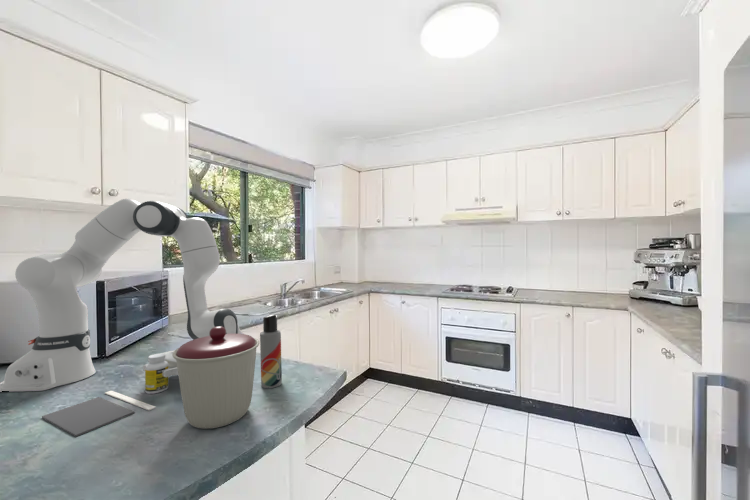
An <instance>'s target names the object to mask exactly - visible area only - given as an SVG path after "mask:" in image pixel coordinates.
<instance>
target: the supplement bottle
mask: <svg viewBox="0 0 750 500" xmlns="http://www.w3.org/2000/svg"><path fill="white" fill-rule="evenodd" d="M147 359H148V360H147V362H148V363H146V364H147V365H146V364H145V365H146V367H145V371H144V373H145V374H144V379H145V381H144V385H145V387H144V389H145V390H144V392H145V393H146V394H148V395H151V394H152V395H153V394H154V395H155V394H160V393H162V392H164V391H166V390H167V389H168V388H169V377H163V376H162V371H163V370H166V369H168V362H167V361H164V360H165V354H164V352H160V353H154V354H150V355H148V357H147Z"/></svg>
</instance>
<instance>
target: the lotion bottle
mask: <svg viewBox="0 0 750 500" xmlns="http://www.w3.org/2000/svg"><path fill="white" fill-rule="evenodd" d="M262 323H263V324H262V327H263V329H262V330H263V331H261V332H260V334H259V350H260V353H259V355H260V356H259V357H260V384H261V387H262V388H263V389H273V388H277V387H279V386H281V384H282V382H283V381H282V379H283V377H282V376H283V375H282V373H283V372H282V371H283V370H282V337H281V336H282V332H281V330H279V329H278V316H277V315H276V314H271V315H267V316H264V317H263V318H262Z"/></svg>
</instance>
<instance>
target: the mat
mask: <svg viewBox="0 0 750 500" xmlns="http://www.w3.org/2000/svg"><path fill="white" fill-rule="evenodd" d="M135 413H136V412H135V410H133V409H130V408H128V407H125V406H122V405H120V404H117V403H114V402H112V401H109V400H108V399H105V398H102V397H99V396H98V397H95V398H92V399H89V400H85V401H83V402H80V403H77V404H74V405H72V406H67V407H65V408H62V409H59V410H56V411H53V412H49V413H46V414H44V415H42V416H41V419H43V420H45V421H47V422H49V423H51V424H52V425H53V426H56V428H57V427H58V428H59V429H61V430H63V431H65V432H66V433H68V434H70V435H72V436H74V437H75V438H76V437H80V436H82V435H84V434H87V433H89V432H91V431H95V430H96V429H98V428H101V427H102V428H103V426H106V425H107V426H108V425H110V424H111V423H114V422H116V421H119V420H121V419H124V418H126V417H128V416H131V415H135Z"/></svg>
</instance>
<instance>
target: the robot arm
mask: <svg viewBox="0 0 750 500" xmlns="http://www.w3.org/2000/svg"><path fill="white" fill-rule="evenodd" d="M139 232H143V233H145V234H148V235H151V236H157V237H172V238H173V239H175V240H176V242H177V244H178V247H179V250H180V255H181V260H182V265H183V275H182V278H183V279H182V281H183V283H182V284H183V290H184V296H185V302H186V308H187V323H186V331H187V333H188V336H189V338H191V339H192V340H194V339H198V338H201V337H206V336H210V335H209V332H210V330H211V329H212V328H213V327H217V326H222V327H224V328H225V329H226V334H245V333H243V332H242V330H241V329H240V327H239V324H238V316H237V315H236V314H235V311H233V310H231V309H229V308H220V309H216V310H215V309H214V310H211V311H210V310H209V309H208V304H207V297H206V292H205V291H206V289H205V288H206V287H205V286H206V283H207V281H208V280H209V278H210V277H211V276H212V275H214V273H215V272H216V271H217V270H218V268H219V266H220V262H221V260H220V259H221V258H220V253H219V249H218V244H217V241H216V238H215V236H214V233H213V231H212V229H211V227H210V225H209V223H208V222H207V221H206V219H203V218H201V217H189V216H188V215H187V213H186V212H185V211H184V210H183V209H181V208H179V207H177V206H175V205H174V204H171V203H167V202H161V201H159V200H149V201H144V202H142V203H140V202H139V201H137V200H136V199H135V200H134V199H131V198H122V199H120V200H118V201H116V202H114V203H113V204H111V205H109V206H108V207H107V208H105V209H103V210H102V211H101V212H100V213H98V214H97V215H96V216H95V217H93V218H92V219H91V220H90V221H88V223H86V224H85V225H84V226H83V227H82V228H81V229H80V230H78V231H77V232H76V233H75V236H74V238H75V239H74V242H73V244H72V245H71V247H70V248H69V249H68V250H67V251H65V252H62V253H46V254H39V255H35V256H32V257H29V258H26V259H24V260H22V261H21V262H20V263H19V264H18V265H17V267H16V269H15V271H14V272H15V273H14V275H15V280H16V282H17V283H18V284H19V285H20V286H21V287H22V288H24V289H25V290H27V291H28V292H29V294H30V296H31V298H32V300H33V301H34V304H35V306H36V309H37V317H38V319H37V320H38V336H36V337H35V338H34V339H31V340H28V341H27V345H28V346H29V345H33V346H32V348H31V350H29V351H28V352H27V353H25V354H24V355H22V356H21V357H19V358H18V359H17V360H15V361H14V362H12V363H11V364H10V365H9V366H8V367H7V368H6V371H5V374H4V380H3V381H1V382H0V393H3V392H2V391H9V393H10V392H32V391H33V392H35V391H36V392H37V391H46V390H49V389H53V388H56V387H59V386H64V385H68V384H72V383H75V382H78V381H82V380H83V379H87V378H90V377H91V376H93V375H94V374H95V373H97V371H96V369H95V366H94V364H93V361H92V356H91V350H90V346H91V330H90V329H89V316H88V314H89V312H88V308H89V307H88V306H87V304H86V302H84V301H82V299H81V297H80V295H79V292H78V289H77V288H78V287H80V288H81V287H83V286H86V285H90V284H91V283H93V282H94V281H96V280H97V279H99V278H100V277H101V274H102V269H103V268H104V266H105V265H106V263H107V262H108V261H109V259H110V258H111V257H112V256H113V255H114V254H116V252H117V251H119V249H121V248H122V247H123V246H124V245H126V243H128V242H129V241H130V240H131V239H132V238H133V237H134V236H135V235H137V234H138V233H139ZM28 342H29V343H28ZM175 350H176V349H174V350H169V351H165V352H163V353H164V354H165V360H164V361H167V362H168V369H166V370H163V371H162V376H163V377H168V378H170V377H171V376H173V377H174V376H178V369H177V362H176V359H174V358H173V356H172V353H173V352H174V351H175ZM147 364H148V363H146V364H144V365H142V371H143V372H145V367H146V365H147Z"/></svg>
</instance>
